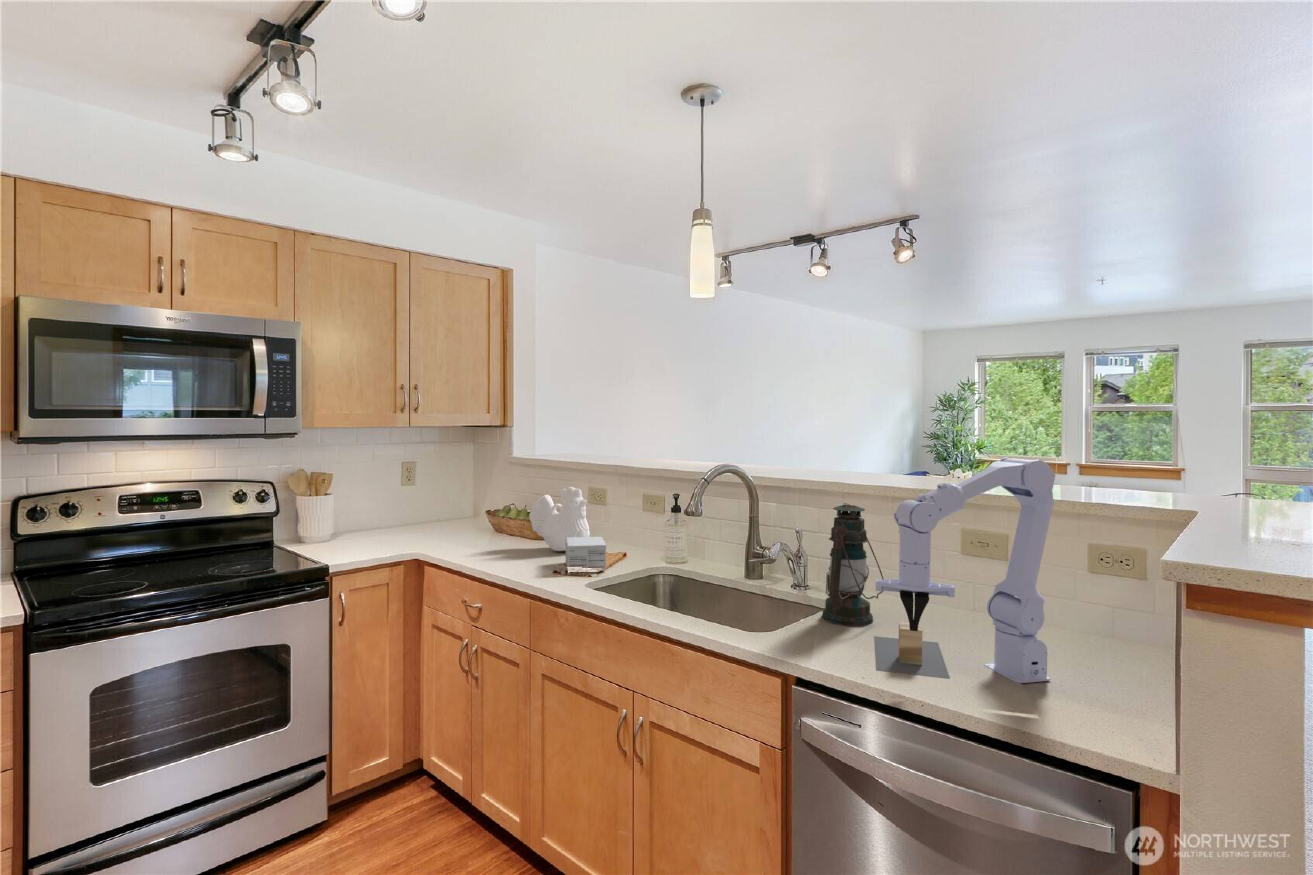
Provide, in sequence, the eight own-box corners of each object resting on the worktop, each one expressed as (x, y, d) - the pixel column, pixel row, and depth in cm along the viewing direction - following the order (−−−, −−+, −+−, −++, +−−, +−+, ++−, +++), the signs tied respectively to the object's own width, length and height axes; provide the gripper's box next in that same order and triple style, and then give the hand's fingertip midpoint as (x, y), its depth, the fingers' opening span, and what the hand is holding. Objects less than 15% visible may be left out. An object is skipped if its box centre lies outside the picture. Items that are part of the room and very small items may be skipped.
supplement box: (606, 572, 222) (606, 544, 222) (567, 574, 220) (567, 546, 219) (602, 561, 239) (602, 535, 238) (565, 562, 236) (565, 536, 236)
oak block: (921, 666, 139) (922, 630, 138) (899, 663, 140) (900, 628, 140) (920, 658, 143) (920, 624, 143) (898, 656, 144) (898, 622, 144)
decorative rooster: (598, 549, 259) (598, 486, 258) (571, 556, 245) (571, 489, 245) (550, 542, 273) (550, 482, 272) (522, 548, 260) (522, 485, 259)
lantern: (839, 605, 184) (840, 497, 183) (891, 615, 175) (893, 502, 174) (807, 622, 169) (809, 505, 168) (862, 634, 160) (864, 510, 159)
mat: (950, 680, 132) (950, 678, 132) (876, 672, 136) (876, 670, 136) (937, 644, 153) (937, 642, 153) (874, 638, 157) (874, 636, 157)
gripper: (952, 559, 133) (951, 627, 133) (876, 554, 137) (875, 619, 138) (956, 567, 126) (955, 638, 127) (876, 561, 131) (874, 630, 131)
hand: (913, 629), depth 132 cm, fingers closed
